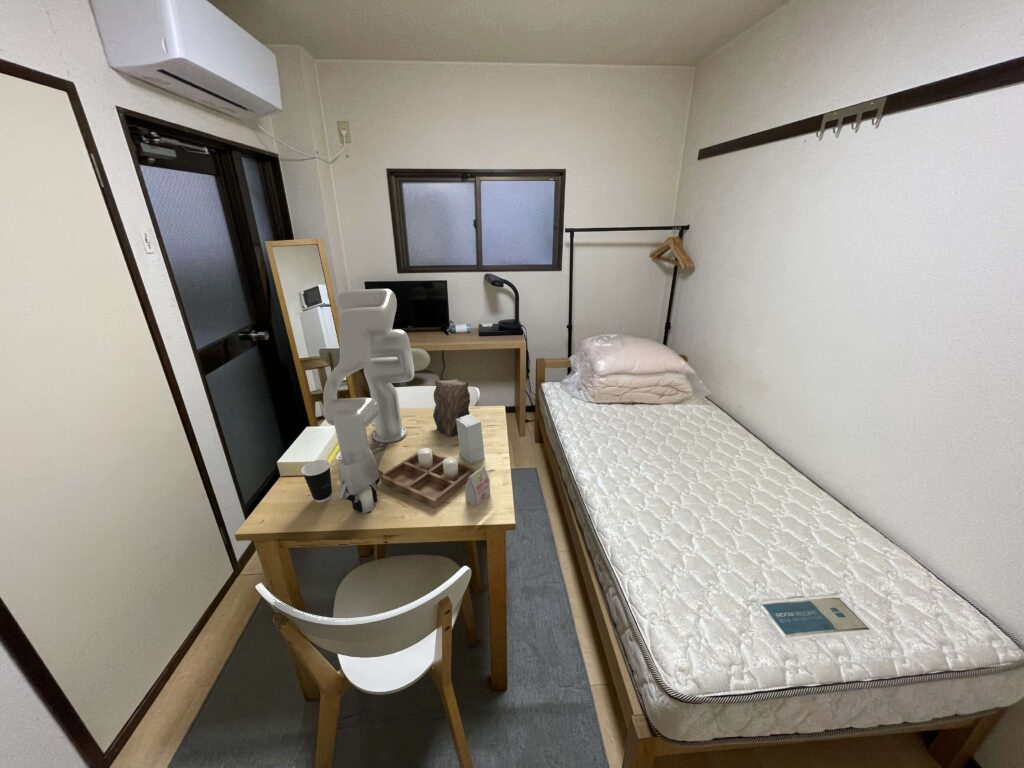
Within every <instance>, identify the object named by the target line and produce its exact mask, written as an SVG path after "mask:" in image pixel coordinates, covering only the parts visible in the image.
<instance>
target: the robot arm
mask: <svg viewBox="0 0 1024 768" xmlns="http://www.w3.org/2000/svg"><path fill="white" fill-rule="evenodd" d="M337 303H338V306H339V309H341V312H340V314H339V316H338V329H339V330H338V334H339V336H338V338H339V362H338V364H337V366H335V368H334V369H332V371H331V373H330V374H329V376H328V378H327V380H326V382H325V385H324V386H323V387H324V388H323V393H322V394H323V395H322V396H323V400H322V401H323V415H324V418H325V421H326V422H327V424H329V425H330V426H334V429H335V434H336V440H337V443H338V448H339V452H340V457H341V459H339V461H338V476H339V483H340V489H341V490H340V493H339V496H338V499H339V500H341V501H349V502H351V506H352V509H353V510H354V511H355V512H358V513H360V514H362V511H363V510H362V505H361V501H360V500H359V491H361V490H363V489H364V488H366V487H367V486H370V487H371V489H372V495H373V500H374V503H377V502H378V494H377V490H378V485H379V483H380V482H381V479H380V478H381V477H382V475H383V474H384V472H383V471H382V470H380V469H379V466H378V463H377V460H376V457H375V455H374V453H373V450H371V449H370V448H371V447H370V446H371V445H373V442H372V440H371V439H369V437H368V431H367V428H368V427H369V426H370V425H371V427H372V428H373V427H374V429H375V431H374V432H373V433H372V436H373V440H374V441H376V442H377V443H380V444H381V443H382V444H383V443H384V444H388V443H389V444H390V443H395V442H398V441H400V440H402V439H403V438H405V437H406V436H407V433H408V430H407V428H406V427H405V426H404V425H403V423H402V416H401V410H400V409H401V407H400V402H399V401H400V399H399V393H398V391H397V389H396V386H394V385H393V384H394V383H395V384H396V383H407V382H410V381H412V380H413V379H414V378H415V366H414V361H413V360H414V359H413V353H412V348H411V347H412V346H411V341H410V337H409V336H408V334H407V332H406V331H404V330H403V329H393V326H394V322H395V316H396V312H397V307H398V304H397V303H398V302H397V297H396V294H395V293H394V291H392V290H391V289H389V288H369V289H365V288H364V289H363V288H362V289H361V288H360V289H347V290H342V291H341V292H339V293H338V295H337ZM362 369H363V374H364V377H365V379H366V382H367V385H368V388H369V392H370V394H369V395H370V397H351V398H349V397H346V398H338V389H339V387H340V385H341V383H342V382H343V381H344V380H345V379H346V378H347V377H349V376H351V374H354V373H355V372H357V371H360V370H362Z"/></svg>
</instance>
